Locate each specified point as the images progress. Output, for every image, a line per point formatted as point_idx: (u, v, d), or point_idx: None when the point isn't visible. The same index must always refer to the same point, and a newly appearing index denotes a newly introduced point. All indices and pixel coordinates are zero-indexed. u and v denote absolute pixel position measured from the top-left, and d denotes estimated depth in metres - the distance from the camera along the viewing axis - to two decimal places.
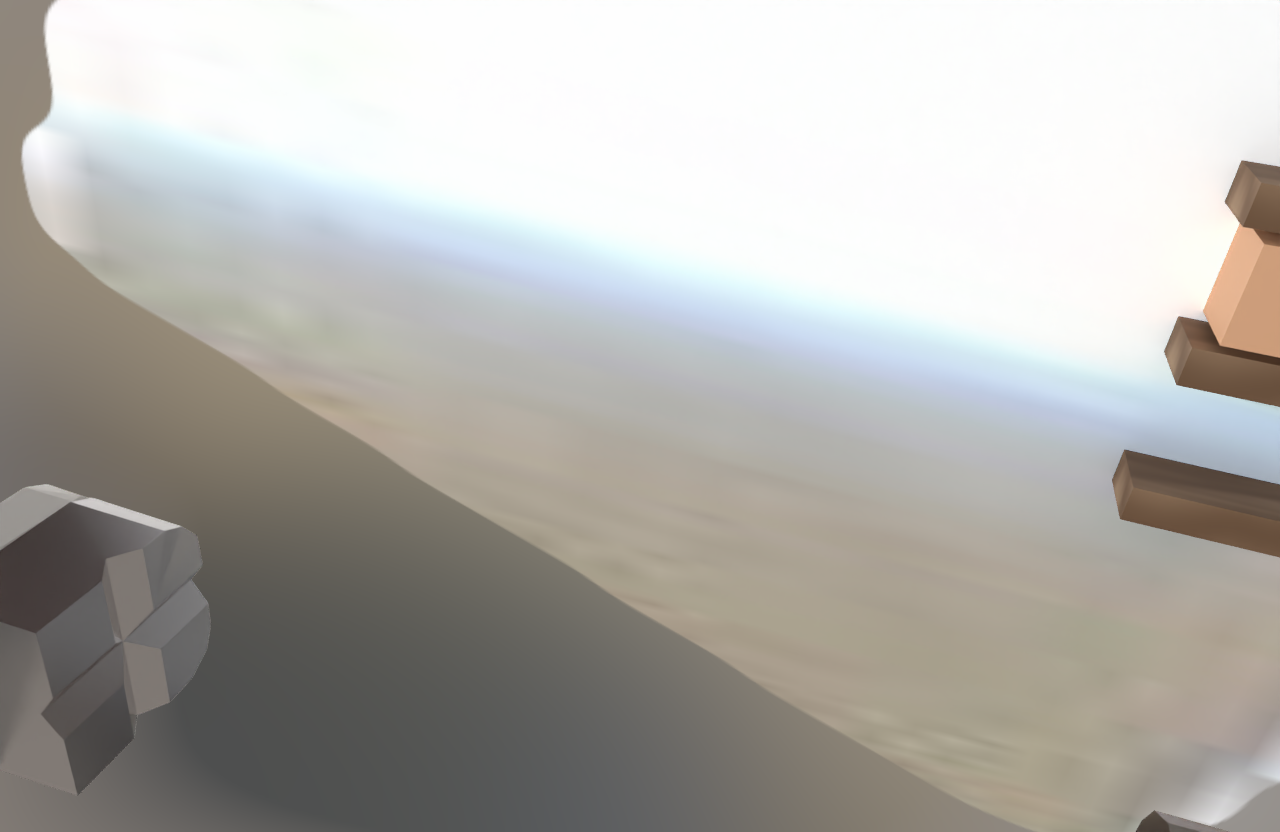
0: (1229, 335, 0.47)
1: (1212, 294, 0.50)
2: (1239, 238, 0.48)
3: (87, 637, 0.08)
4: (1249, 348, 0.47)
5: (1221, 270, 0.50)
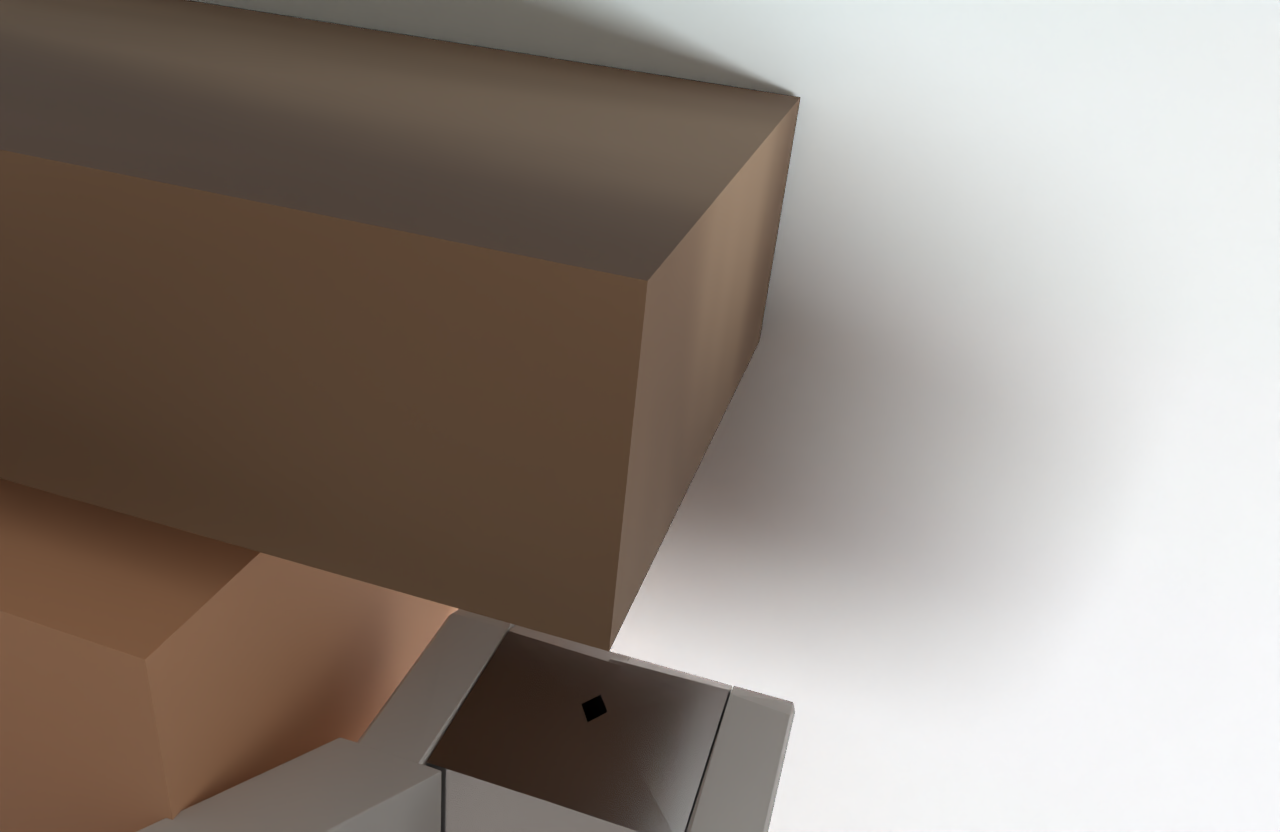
0: (127, 722, 0.06)
1: None
2: None
3: None
4: None
5: None
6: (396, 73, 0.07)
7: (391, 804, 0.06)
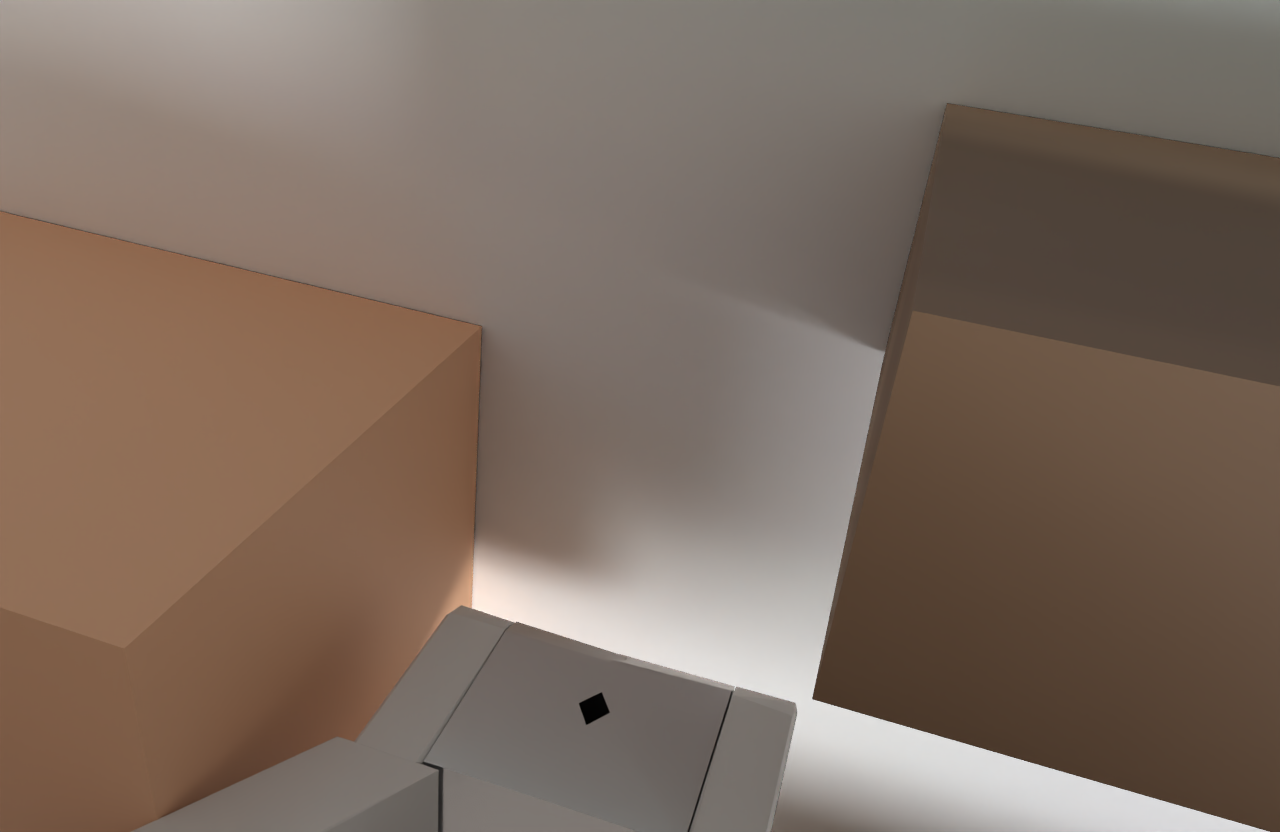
0: (108, 712, 0.06)
1: (453, 454, 0.09)
2: None
3: None
4: None
5: (459, 547, 0.10)
6: None
7: (388, 802, 0.06)
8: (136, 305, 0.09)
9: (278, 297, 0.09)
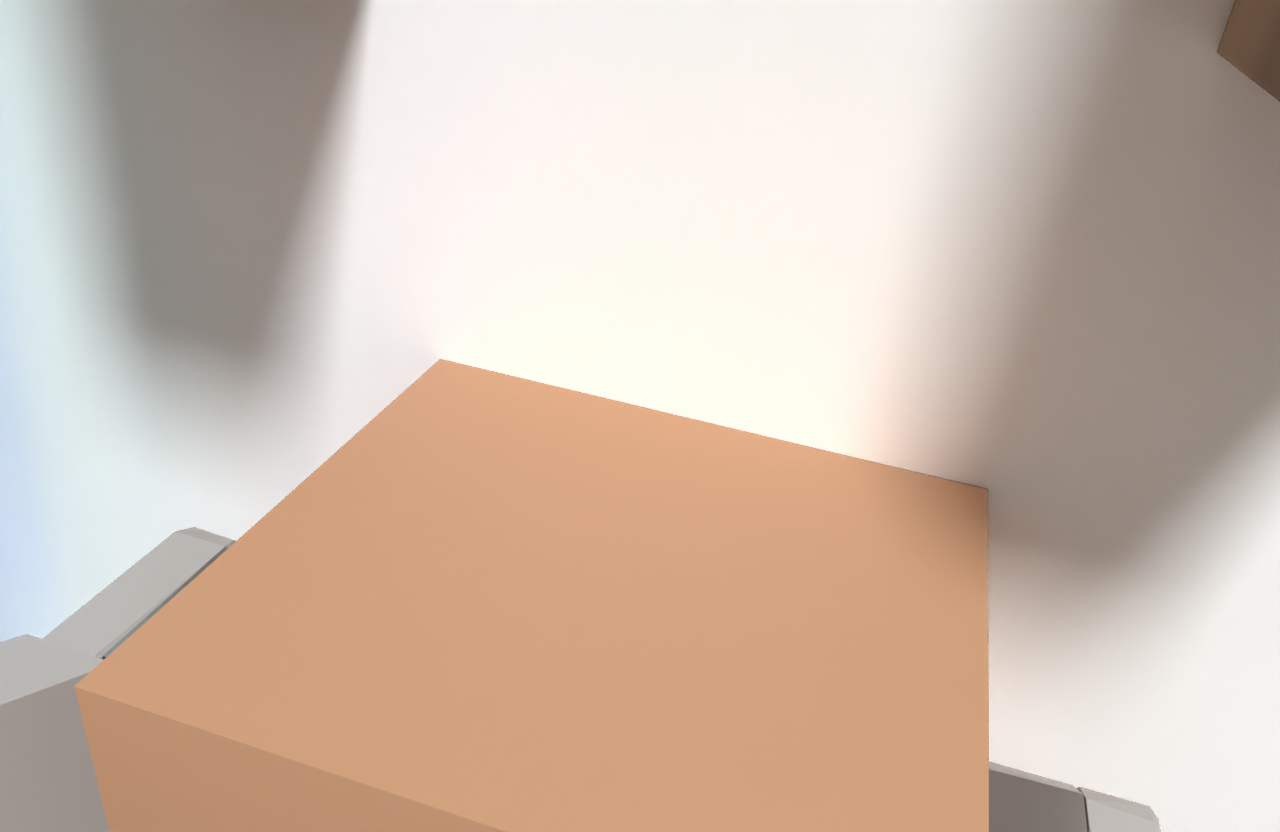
0: (167, 740, 0.06)
1: (525, 411, 0.09)
2: (871, 527, 0.08)
3: None
4: None
5: (662, 432, 0.09)
6: None
7: (58, 691, 0.07)
8: None
9: None
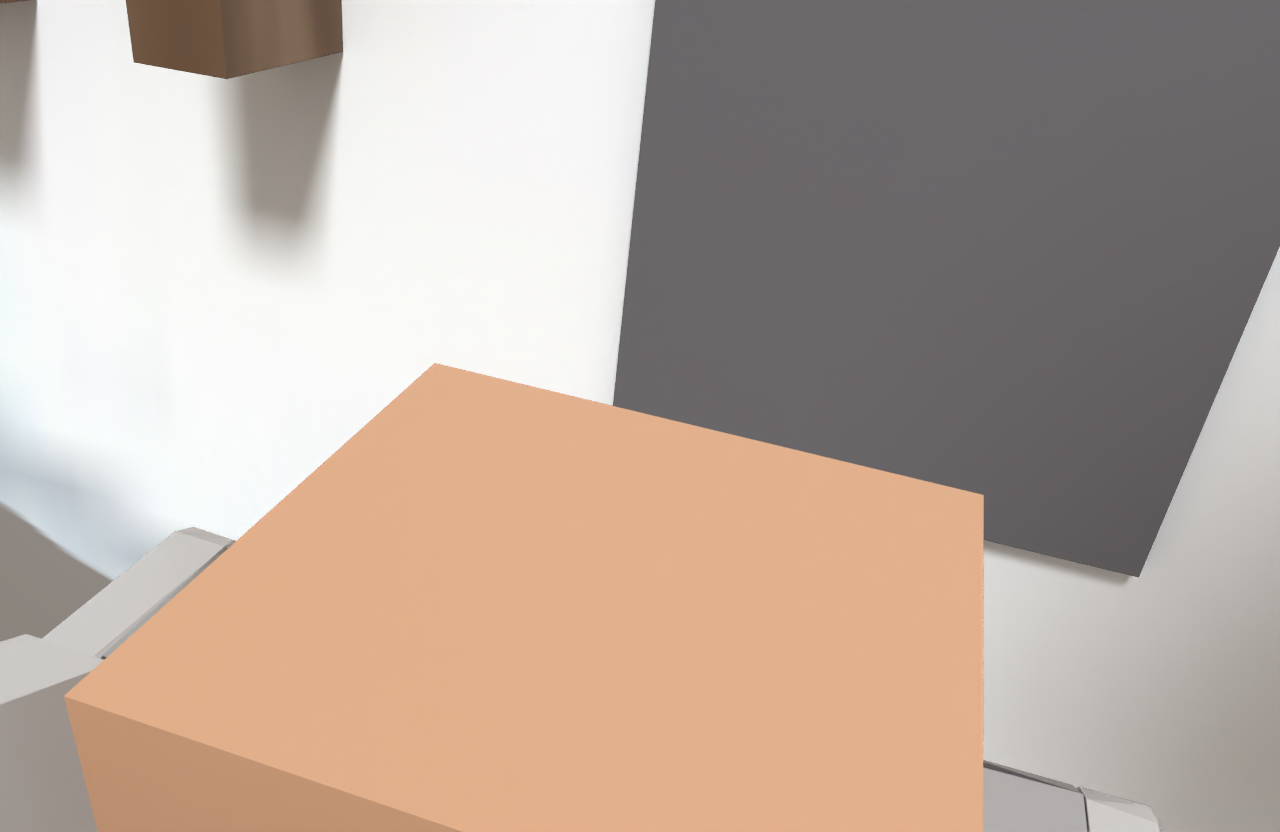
0: (157, 751, 0.06)
1: (519, 414, 0.09)
2: (866, 534, 0.08)
3: None
4: None
5: (657, 437, 0.09)
6: None
7: (58, 690, 0.07)
8: None
9: None
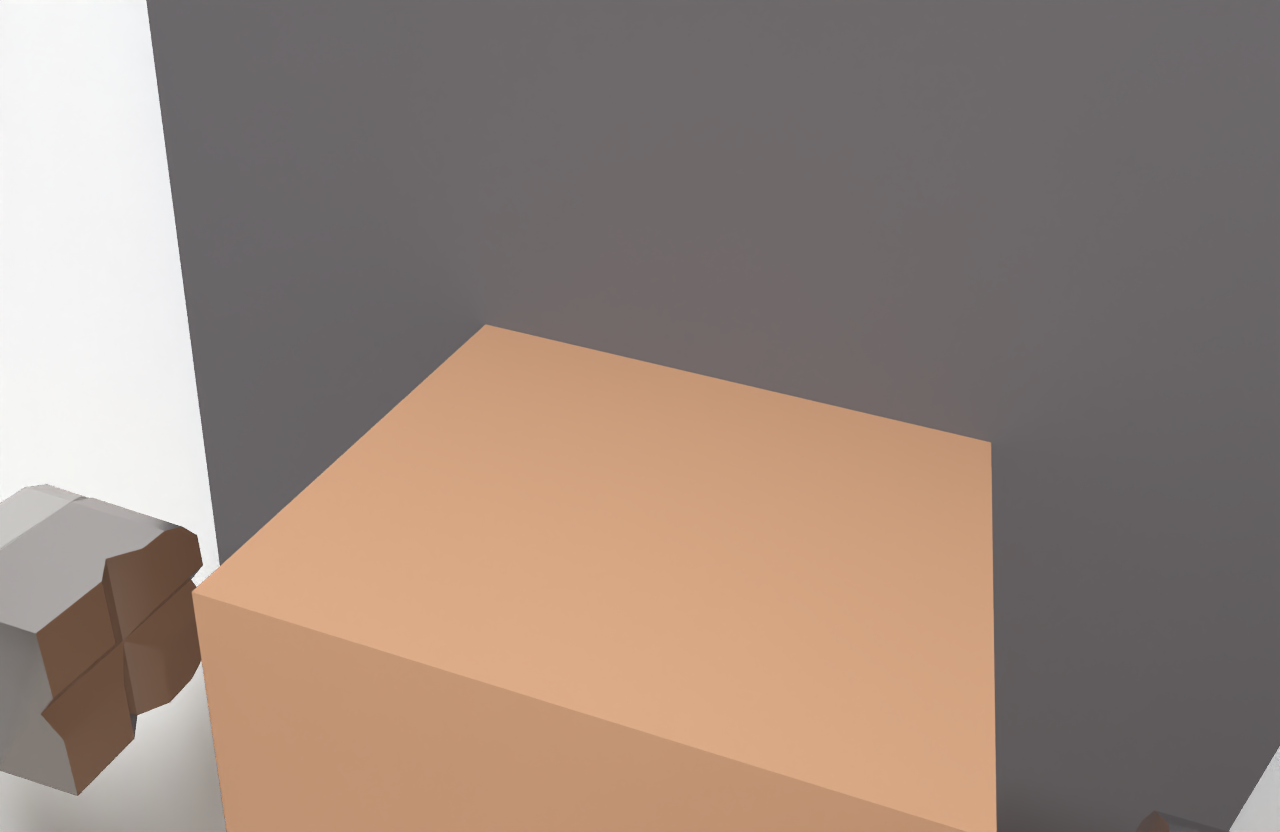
0: (273, 640, 0.06)
1: (566, 370, 0.10)
2: (886, 473, 0.09)
3: (87, 637, 0.08)
4: (230, 734, 0.07)
5: (693, 390, 0.09)
6: None
7: None
8: None
9: None
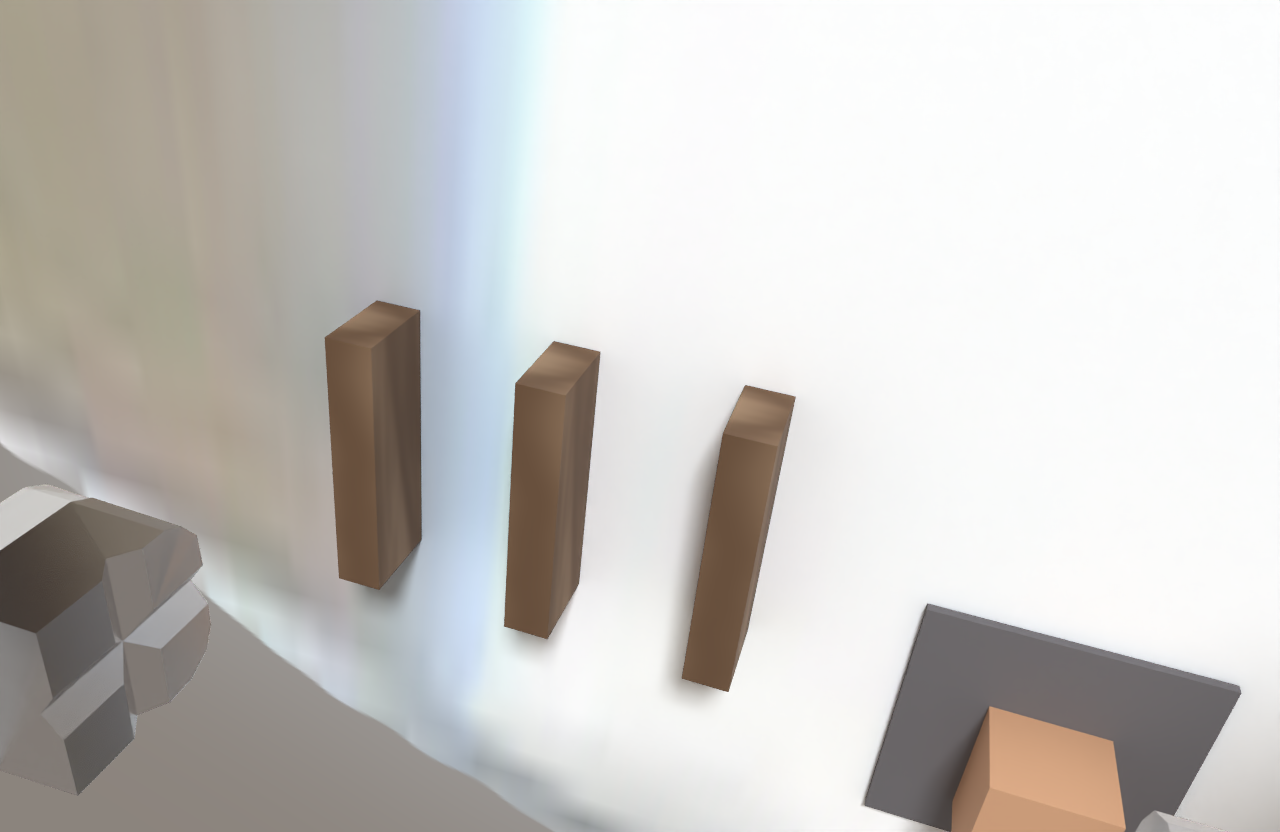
0: (1003, 795, 0.39)
1: (1015, 722, 0.42)
2: (1093, 752, 0.41)
3: (87, 637, 0.08)
4: (984, 809, 0.40)
5: (1045, 727, 0.42)
6: None
7: None
8: (971, 770, 0.43)
9: (977, 742, 0.43)
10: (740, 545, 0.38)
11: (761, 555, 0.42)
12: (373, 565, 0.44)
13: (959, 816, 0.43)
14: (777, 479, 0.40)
